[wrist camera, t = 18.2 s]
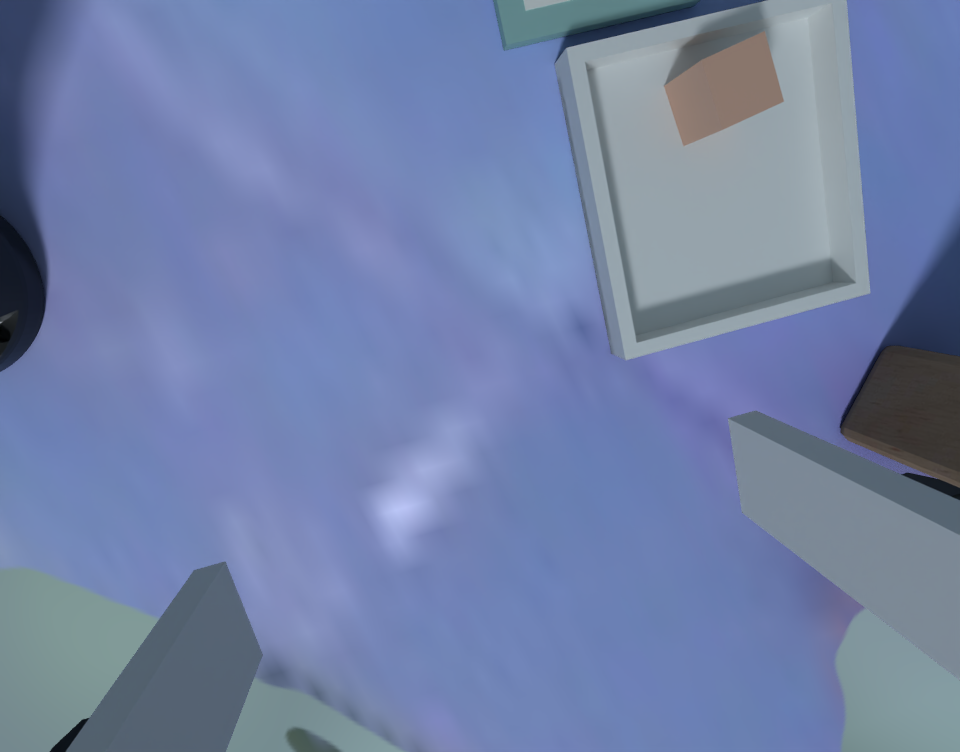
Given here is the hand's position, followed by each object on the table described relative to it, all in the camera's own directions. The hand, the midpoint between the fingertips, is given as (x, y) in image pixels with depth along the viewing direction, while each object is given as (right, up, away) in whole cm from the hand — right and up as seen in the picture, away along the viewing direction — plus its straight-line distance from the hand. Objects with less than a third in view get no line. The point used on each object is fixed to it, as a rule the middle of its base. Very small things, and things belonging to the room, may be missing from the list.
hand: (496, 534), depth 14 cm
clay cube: (+18, +26, +31) cm, 45 cm away
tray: (+19, +21, +34) cm, 44 cm away
